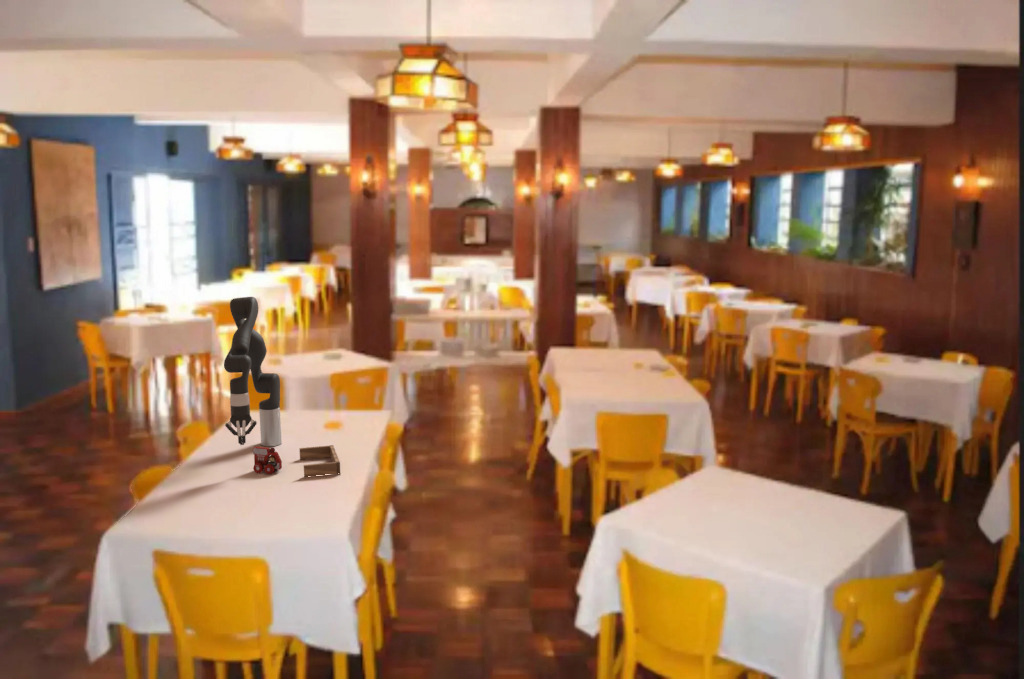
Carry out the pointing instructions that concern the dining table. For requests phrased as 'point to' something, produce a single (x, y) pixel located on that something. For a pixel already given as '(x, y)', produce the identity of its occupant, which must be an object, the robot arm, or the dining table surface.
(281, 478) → the dining table surface
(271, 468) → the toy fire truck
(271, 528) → the dining table surface
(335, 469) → the open wooden box
